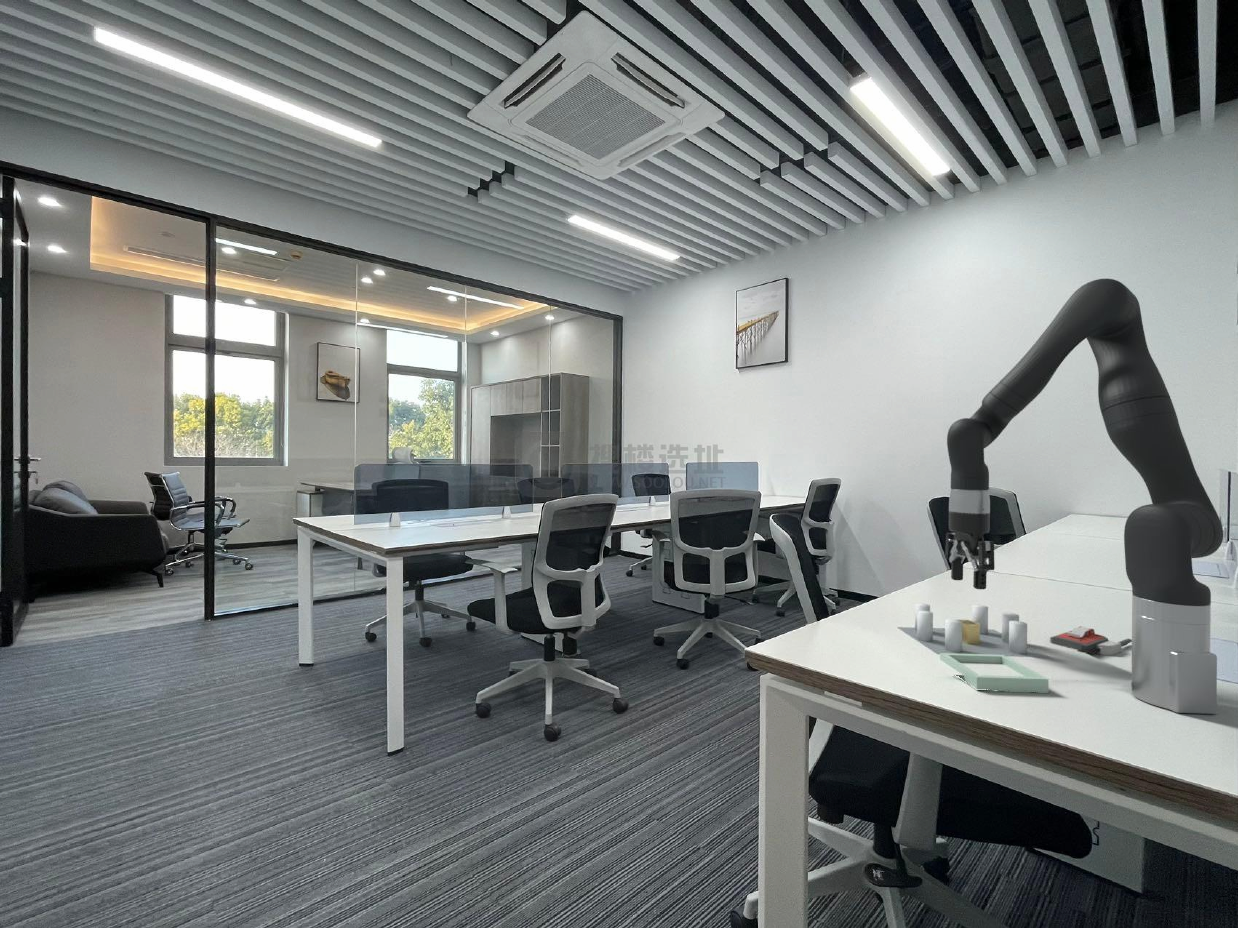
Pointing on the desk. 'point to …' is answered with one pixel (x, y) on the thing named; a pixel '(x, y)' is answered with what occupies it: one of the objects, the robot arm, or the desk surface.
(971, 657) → the tray
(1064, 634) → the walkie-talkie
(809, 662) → the desk surface
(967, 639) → the khaki cube
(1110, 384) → the robot arm
